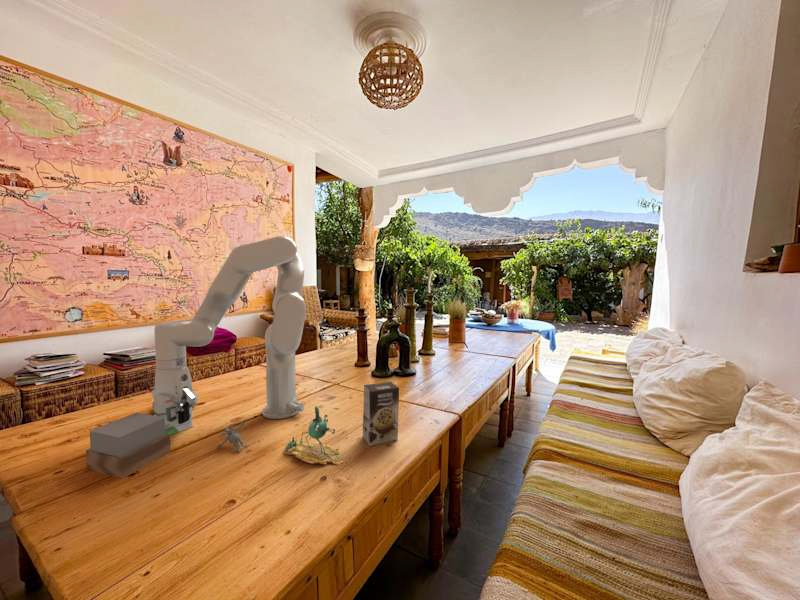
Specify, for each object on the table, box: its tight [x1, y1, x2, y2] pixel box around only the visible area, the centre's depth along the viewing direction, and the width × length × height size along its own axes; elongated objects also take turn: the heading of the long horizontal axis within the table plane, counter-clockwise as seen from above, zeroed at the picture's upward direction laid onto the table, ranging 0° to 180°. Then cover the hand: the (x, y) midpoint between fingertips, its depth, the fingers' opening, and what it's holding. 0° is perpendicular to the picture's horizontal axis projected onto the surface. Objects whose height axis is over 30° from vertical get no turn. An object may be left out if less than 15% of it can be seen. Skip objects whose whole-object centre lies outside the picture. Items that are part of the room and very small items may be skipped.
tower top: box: [89, 412, 165, 458], centre depth 84 cm, size 10×11×5 cm
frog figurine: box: [282, 405, 344, 466], centre depth 88 cm, size 10×18×15 cm, turn 66°
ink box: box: [153, 394, 194, 436], centre depth 100 cm, size 9×5×12 cm, turn 151°
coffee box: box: [362, 381, 400, 447], centre depth 98 cm, size 9×6×16 cm
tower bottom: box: [85, 434, 172, 479], centre depth 85 cm, size 12×12×5 cm
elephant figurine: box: [217, 421, 247, 453], centre depth 92 cm, size 9×5×8 cm
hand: (173, 419), depth 100 cm, fingers open, 7 cm apart
